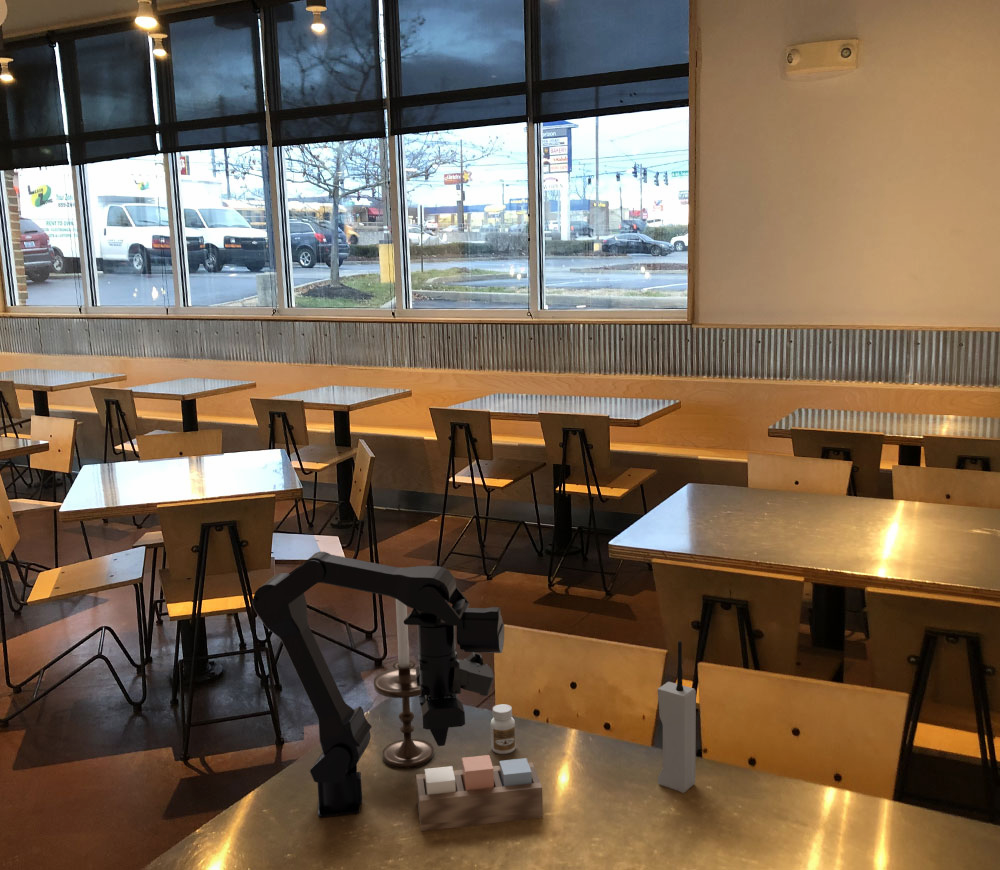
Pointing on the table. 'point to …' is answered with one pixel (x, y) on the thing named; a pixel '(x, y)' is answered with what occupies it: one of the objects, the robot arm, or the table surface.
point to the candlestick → (403, 702)
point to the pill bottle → (503, 729)
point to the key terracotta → (477, 772)
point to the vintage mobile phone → (678, 732)
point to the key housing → (479, 803)
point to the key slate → (515, 772)
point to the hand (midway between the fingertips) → (441, 744)
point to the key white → (439, 780)
